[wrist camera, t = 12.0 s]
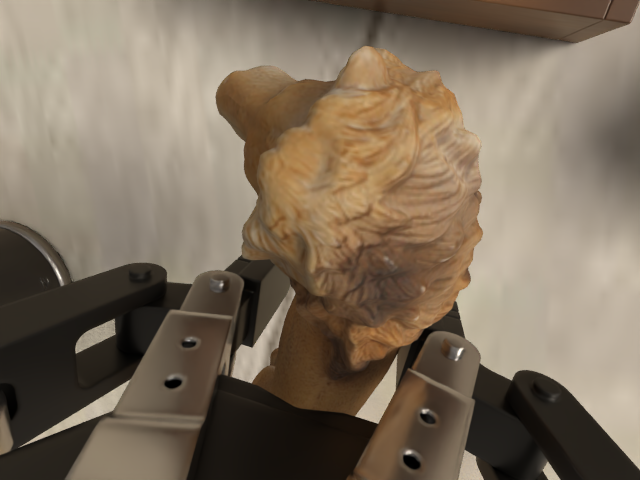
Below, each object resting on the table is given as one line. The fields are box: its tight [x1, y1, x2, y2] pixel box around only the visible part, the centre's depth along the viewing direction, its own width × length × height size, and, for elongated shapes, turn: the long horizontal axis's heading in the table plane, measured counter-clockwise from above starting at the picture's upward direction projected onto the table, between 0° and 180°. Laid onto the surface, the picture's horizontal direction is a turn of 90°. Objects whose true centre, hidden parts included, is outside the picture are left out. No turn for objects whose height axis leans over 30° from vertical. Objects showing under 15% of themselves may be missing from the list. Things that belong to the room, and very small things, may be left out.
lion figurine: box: [216, 46, 483, 416], centre depth 10 cm, size 15×5×9 cm, turn 169°
